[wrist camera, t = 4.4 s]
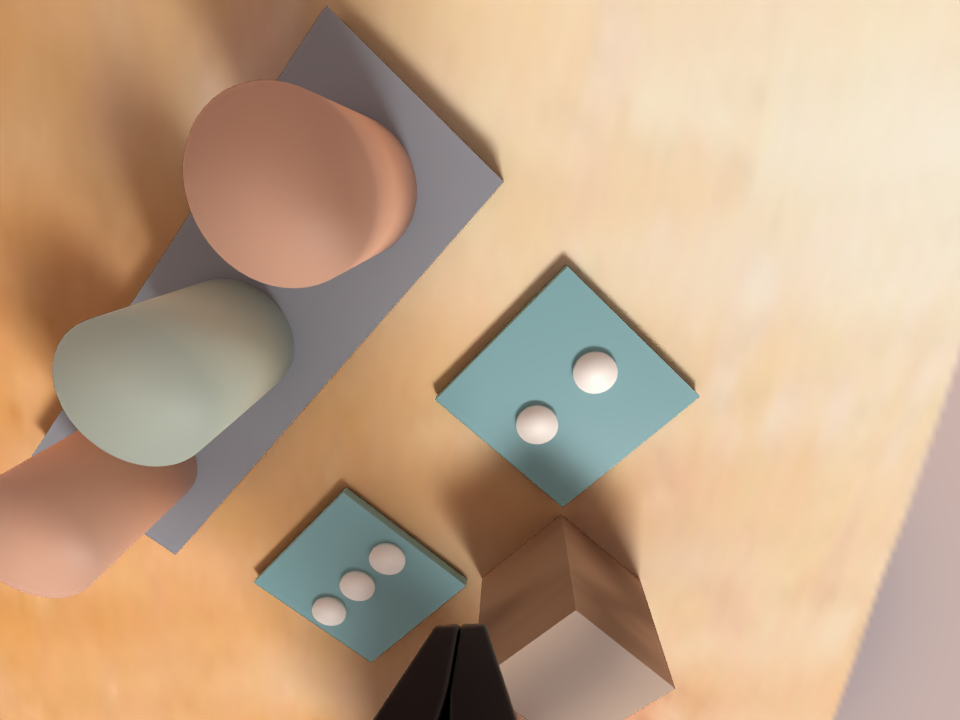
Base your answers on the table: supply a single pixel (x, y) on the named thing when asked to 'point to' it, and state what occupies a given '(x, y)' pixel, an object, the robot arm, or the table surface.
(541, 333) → the pad two
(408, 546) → the pad three
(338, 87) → the board
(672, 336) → the table surface
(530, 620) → the brown cube
